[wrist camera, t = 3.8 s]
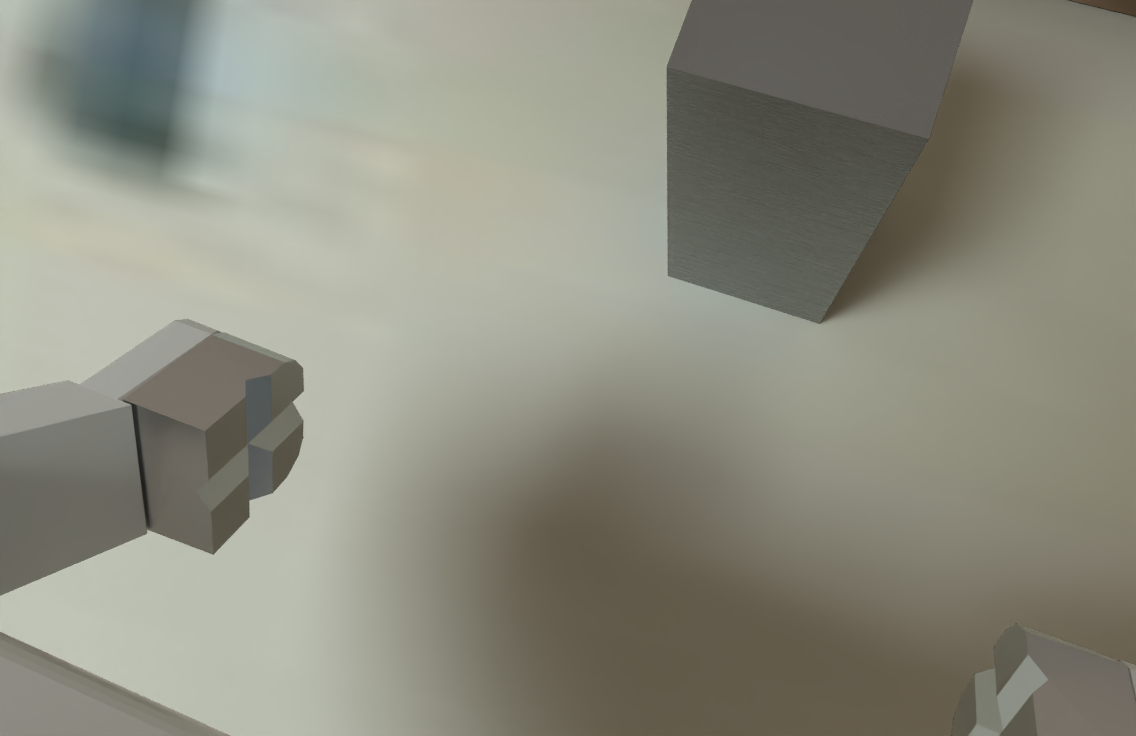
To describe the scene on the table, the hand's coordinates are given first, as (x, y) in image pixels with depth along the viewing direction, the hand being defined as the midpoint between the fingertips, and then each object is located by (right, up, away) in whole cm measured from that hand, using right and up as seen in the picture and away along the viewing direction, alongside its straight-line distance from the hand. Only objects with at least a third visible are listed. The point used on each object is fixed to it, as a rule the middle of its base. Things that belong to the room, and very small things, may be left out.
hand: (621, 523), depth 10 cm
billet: (+5, +5, +13) cm, 15 cm away
